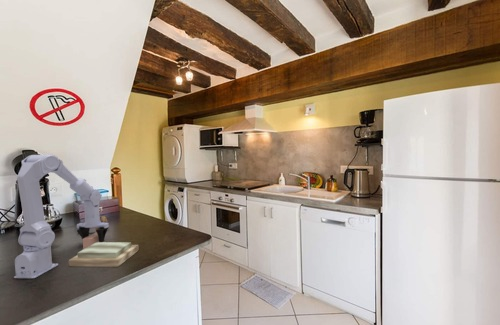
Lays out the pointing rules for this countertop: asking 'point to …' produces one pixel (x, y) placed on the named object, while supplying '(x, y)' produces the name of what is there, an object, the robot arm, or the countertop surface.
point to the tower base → (104, 260)
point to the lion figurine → (102, 219)
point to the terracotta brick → (90, 240)
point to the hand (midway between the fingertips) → (93, 242)
